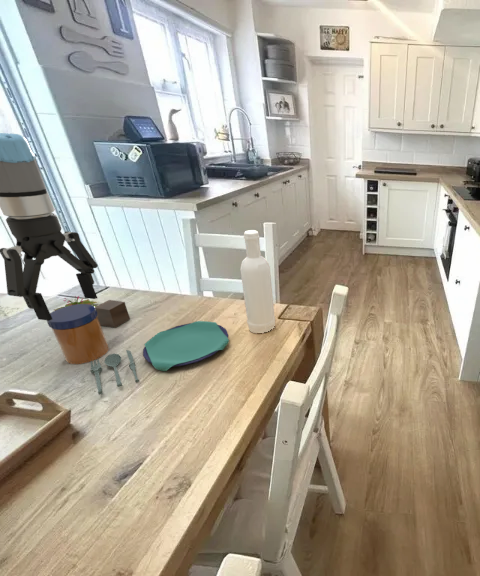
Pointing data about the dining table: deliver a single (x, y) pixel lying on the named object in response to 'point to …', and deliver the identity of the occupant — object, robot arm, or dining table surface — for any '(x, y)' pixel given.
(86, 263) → the robot arm
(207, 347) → the cutlery set
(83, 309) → the lid
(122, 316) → the dark brown block
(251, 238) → the bottle
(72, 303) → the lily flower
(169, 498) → the dining table surface
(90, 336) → the jar
